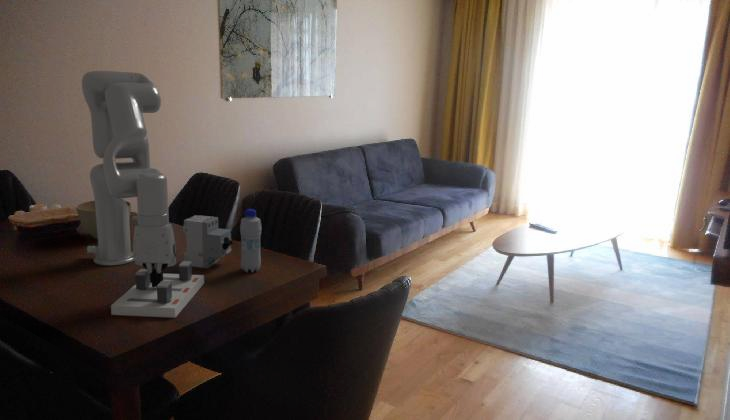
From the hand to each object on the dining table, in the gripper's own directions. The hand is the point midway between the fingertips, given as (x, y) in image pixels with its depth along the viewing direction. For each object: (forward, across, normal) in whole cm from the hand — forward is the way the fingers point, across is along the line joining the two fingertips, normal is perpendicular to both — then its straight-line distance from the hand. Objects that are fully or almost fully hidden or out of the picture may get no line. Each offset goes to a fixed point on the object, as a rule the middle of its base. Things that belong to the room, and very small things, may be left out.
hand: (157, 285), depth 144 cm
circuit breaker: (+4, +6, +29) cm, 30 cm away
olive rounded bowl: (+3, -39, +55) cm, 67 cm away
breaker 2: (+1, +5, +8) cm, 10 cm away
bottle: (+4, +20, +25) cm, 32 cm away
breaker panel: (+4, +1, 0) cm, 4 cm away
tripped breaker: (+1, -4, 0) cm, 4 cm away
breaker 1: (+1, +5, -8) cm, 9 cm away
